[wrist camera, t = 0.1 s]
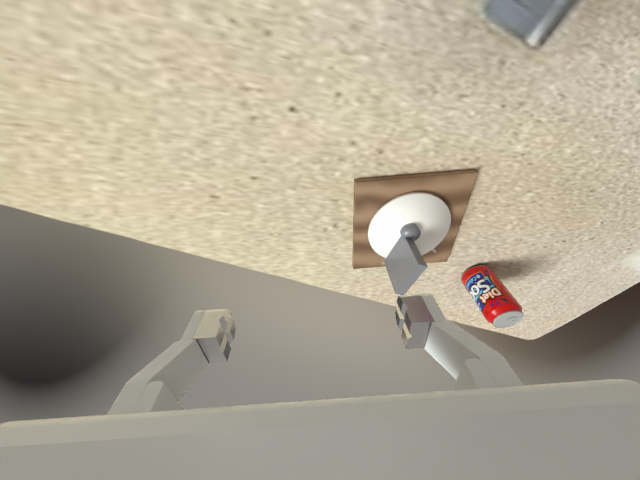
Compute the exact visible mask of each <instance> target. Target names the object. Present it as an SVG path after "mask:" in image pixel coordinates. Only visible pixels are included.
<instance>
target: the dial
mask: <svg viewBox="0 0 640 480" xmlns="http://www.w3.org/2000/svg"><path fill="white" fill-rule="evenodd" d="M450 224H451V214H450V211H449V209H448V207H447V205H446V204H445V203H444V202H443V201H442V200H441V199H440V198H439V197H437V196H435V195H433V194H430V193H426V192H412V193H406V194H402V195H400V196H397V197H395V198H393V199H391V200H389V201H388V202H386V203H385V204H384V205H382V206H381V207H380V208H379V209H378V210H377V211H376V213H375V214H374V215H373V217H372V219H371V221H370V223H369V227H368V239H369V242H370V245H371V247H372V248H373V250H374V251H375V252H376V253H377V254H379V255H380V256H382V257H384V258H386V259H385V260H384V263H385V266H386V268H387V271H388V274H389V277H390V280H391V283H392V285H393V288H394V291H395V294H400V295H404V294H405V293H406V292H407V291H408V289H409V288H410V287H411V286H412V285H413V283H414V282H415V281H416V280H417V279H418V277H419V276H420V275H421V274H422V273H423V271H424V270H425V269H426V268H427V267H428V266H427V265H426V263H425V261H424V259H423V257H422V255H424V254H426V253H428V252H429V251H431V250H432V249H434V248H435V247H436V246H437V245H438V244H439V243H440V242H441V241H442V240H443V239H444V237H445V236H446V234H447V233H448V230H449V228H450Z"/></svg>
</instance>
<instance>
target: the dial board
mask: <svg viewBox="0 0 640 480" xmlns="http://www.w3.org/2000/svg"><path fill="white" fill-rule="evenodd" d="M477 174H478V172H477V171H475V170H462V171H449V172H437V173H425V174H413V175H401V176H388V177H376V178H364V179H354V217H353V269H357V268H370V267H383V266H385V263H384V260H385V259H386V258H384V257H382V256H380V255H379V254H377V253H376V252H375V251H374V250H373V248H372V247H371V245H370V242H369V239H368V227H369V223H370V221H371V219H372V217H373V215H374V214H375V213H376V211H377V210H378V209H379V208H380V207H381V206H382V205H384V204H385V203H386V202H388V201H389V200H391V199H393V198H395V197H397V196H400V195H402V194H406V193H412V192H426V193H430V194H433V195H435V196H437V197H439V198H440V199H441V200H442V201H443V202H444V203H445V204H446V205H447V207H448V209H449V211H450V214H451V224H450V228H449V230H448V233H447V234H446V236H445V237H444V239H443V240H442V241H441V242H440V243H439V244H438V245H437V246H436V247H435V248H434V249H432V250H431V251H429V252H428V253H426V254H424V255H422V257H423V259H424V261H425V263H434V262H447V260H448V257H449V254H450V251H451V249H452V246H453V243H454V240H455V237H456V234H457V231H458V229H459V226H460V223H461V220H462V217H463V214H464V211H465V209H466V206H467V203H468V200H469V197H470V194H471V191H472V188H473V186H474V183H475V180H476V177H477Z"/></svg>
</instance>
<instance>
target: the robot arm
mask: <svg viewBox="0 0 640 480" xmlns="http://www.w3.org/2000/svg"><path fill="white" fill-rule="evenodd" d="M397 304H398V307H397V308H396V312H395V314H396V321H397V325H398V328H399V329H401V330H402V335H401V336H402V339H403V342H404V344H405V347H406V349H409V348H424V349H425V350H426V351H427V352H428V353H429V354H430V355H431V356H433V357H434V358H435V359H436V360H437V361H438V362H439V363H440V364H441V365H442V366H443V367H444V368H445V369H446V370H447V371H448V372H449V373H450V374H451V375H452V376H453V377H454V378H455V379H456V380H457V381H456V383H455V385H454V388H453V390H452V391H440V392H426V393H412V394H397V395H384V396H369V397H355V398H341V399H326V400H312V401H299V402H285V403H270V404H256V405H243V406H228V407H213V408H200V409H186V410H184V408H183V407H182V406H181V404H180V403H179V402H178V401H179V399H180V398H181V397H182V396H183V395H184V393H185V392H186V391H187V390H188V389H189V388H190V386H191V385H192V384H193V383H194V382H195V380H196V379H197V378H198V377H199V376H200V375H201V373H202V372H203V371H204V370H205V369H206V367H207V366H208V365H209V363H217V362H226V361H228V357H229V354H230V350H231V347H230V343H231V342H232V341H233V340H234V337H235V330H236V327H235V322H234V320H233V319H231V318H230V316H231V312H230V310H229V309H216V310H215V309H214V310H197V311H196V312H195V313H194V315H193V316H192V318H191V320H190V322H189V324H188V326H187V328H186V330H185V332H184V334H183V336H182V338H181V340H178V341H176V342H175V343H174V344H172V345H171V346H170V347H169V348H168V349H166V350H165V351H164V352H163V353H161V354H160V355H159V356H158V357H157V358H155V359H154V360H153V361H152V362H150V363H149V364H148V365H147V366H146V367H144V368H143V369H142V370H141V371H140V372H138V373H137V374H136V375H135V376H133V377H132V378H131V379H130V380H129V381H128V382H126V384H125V386H124V387H123V389H122V391H121V392H120V394H119V396H118V397H117V399H116V400H115V402H114V404H113V405H112V407H111V409H110V410H109V412H108V414H107V415H99V416H84V417H71V418H57V419H42V420H26V421H12V422H6V423H3V424H0V480H640V384H638V383H636V382H634V381H631V380H625V379H610V380H596V381H581V382H567V383H553V384H539V385H525V386H523V384H522V383H521V381H520V380H519V379H518V377H517V376H516V374H515V373H514V372H513V370H512V369H511V367H510V366H509V364H508V363H507V361H506V360H505V359H504V357H503V356H502V355H501V354H499V353H498V352H496V351H495V350H493V349H492V348H490V347H489V346H487V345H486V344H484V343H483V342H481V341H480V340H478V339H477V338H475V337H474V336H472V335H471V334H469V333H468V332H466V331H465V330H463V329H462V328H460V327H459V326H457V325H456V324H454V323H453V322H451V321H447V320H446V318H445V317H444V315H443V313H442V311H441V310H440V308H439V306H438V304H437V303H436V301H435V299H434V298H433V296H432V295H431V294H419V295H418V294H417V295H406V296H398V298H397Z"/></svg>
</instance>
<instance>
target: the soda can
mask: <svg viewBox="0 0 640 480" xmlns="http://www.w3.org/2000/svg"><path fill="white" fill-rule="evenodd" d="M461 281H462V283H463V284H464V286H465V287H466V289H467V291H468V292H469V294H470V295H471V297H472V298H473V300H474V301H475V303H476V304H477V306H478V308H479V309H480V311H481V312H482V314H483V315H484V317H485V318H486V320H487V321H488V322H490V323H492V324H493V325H494V326H495V327H498V328H505V327H510V326H512V325H515V324H517V323H518V322H520V321H521V320H522V319H523V317H524V315H523V313H522V307H521V305H520V304H519V303H518V302H517V300H516V299H515V298H514V297H513V296H512V294H511V293H510V292H509V291H508V289H507V288H506V287H505V286H504V284H503V283H502V282H501V281H500V280H499V278H498V277H497V276H496V275H495V273H494V272H493V271H492V270H491V269H490V268H489V267H488V266H485V265H478V266H474V267H472V268H470V269H468V270H467V271H465V272H464V274H463V275H462V277H461Z"/></svg>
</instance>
